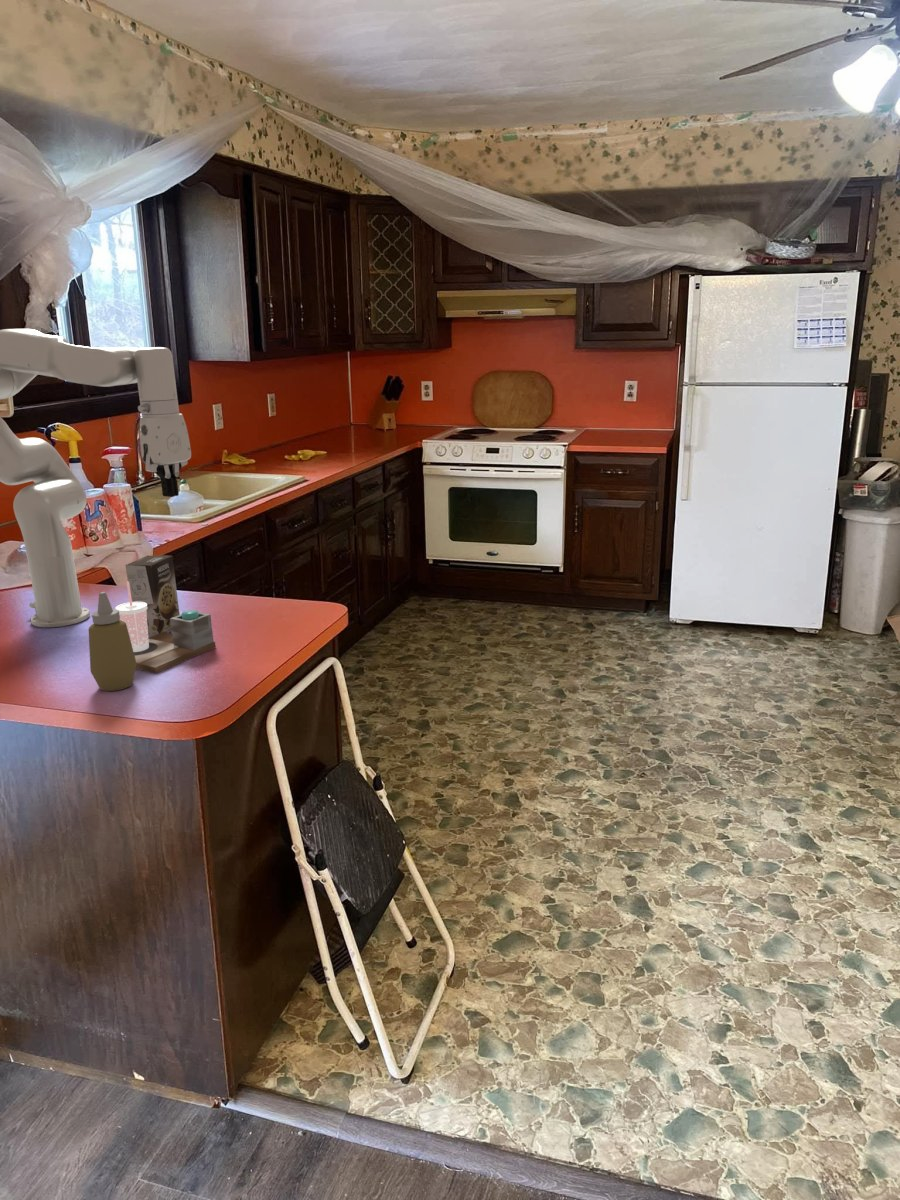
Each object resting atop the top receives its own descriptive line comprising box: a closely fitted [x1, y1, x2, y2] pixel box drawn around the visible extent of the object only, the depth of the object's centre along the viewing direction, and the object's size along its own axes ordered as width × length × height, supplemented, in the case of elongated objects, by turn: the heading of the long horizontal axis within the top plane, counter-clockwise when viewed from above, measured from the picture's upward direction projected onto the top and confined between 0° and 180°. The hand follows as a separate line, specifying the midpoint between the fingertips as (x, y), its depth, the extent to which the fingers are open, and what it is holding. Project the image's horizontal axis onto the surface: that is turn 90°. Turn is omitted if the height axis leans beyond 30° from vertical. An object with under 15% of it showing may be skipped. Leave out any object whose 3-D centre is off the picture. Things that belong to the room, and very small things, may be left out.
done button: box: [181, 609, 199, 620], centre depth 182 cm, size 3×3×3 cm
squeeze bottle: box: [88, 591, 137, 692], centre depth 164 cm, size 8×8×18 cm
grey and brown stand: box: [134, 611, 217, 674], centre depth 181 cm, size 15×16×7 cm
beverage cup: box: [114, 581, 149, 652], centre depth 179 cm, size 6×6×14 cm
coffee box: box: [125, 554, 181, 638], centre depth 194 cm, size 9×6×16 cm
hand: (170, 495), depth 192 cm, fingers closed
